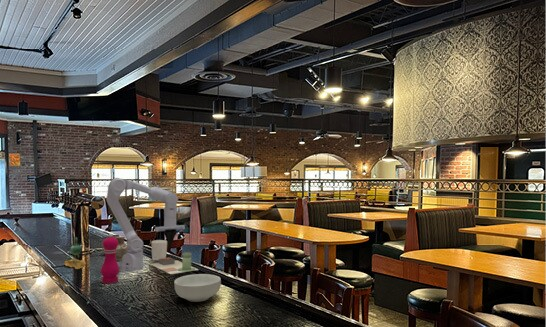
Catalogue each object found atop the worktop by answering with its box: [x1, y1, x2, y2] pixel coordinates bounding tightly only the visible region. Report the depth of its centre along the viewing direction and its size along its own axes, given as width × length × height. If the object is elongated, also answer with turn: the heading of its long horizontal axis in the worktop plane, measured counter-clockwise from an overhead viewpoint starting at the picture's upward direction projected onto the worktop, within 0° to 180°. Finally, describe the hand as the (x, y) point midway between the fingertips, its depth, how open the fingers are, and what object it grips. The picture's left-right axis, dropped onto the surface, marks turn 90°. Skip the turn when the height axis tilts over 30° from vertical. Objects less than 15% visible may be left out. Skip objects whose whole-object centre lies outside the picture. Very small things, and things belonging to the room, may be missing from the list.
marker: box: [181, 251, 192, 270], centre depth 190 cm, size 4×4×8 cm
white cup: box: [150, 239, 168, 261], centre depth 212 cm, size 8×8×10 cm
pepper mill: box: [100, 233, 120, 284], centre depth 172 cm, size 7×7×20 cm
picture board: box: [150, 257, 199, 275], centre depth 195 cm, size 24×14×3 cm, turn 38°
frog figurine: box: [64, 236, 87, 270], centre depth 200 cm, size 10×18×15 cm, turn 36°
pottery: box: [101, 234, 129, 262], centre depth 219 cm, size 11×25×12 cm, turn 34°
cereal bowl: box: [173, 273, 222, 303], centre depth 151 cm, size 17×17×7 cm
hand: (169, 245), depth 199 cm, fingers closed
